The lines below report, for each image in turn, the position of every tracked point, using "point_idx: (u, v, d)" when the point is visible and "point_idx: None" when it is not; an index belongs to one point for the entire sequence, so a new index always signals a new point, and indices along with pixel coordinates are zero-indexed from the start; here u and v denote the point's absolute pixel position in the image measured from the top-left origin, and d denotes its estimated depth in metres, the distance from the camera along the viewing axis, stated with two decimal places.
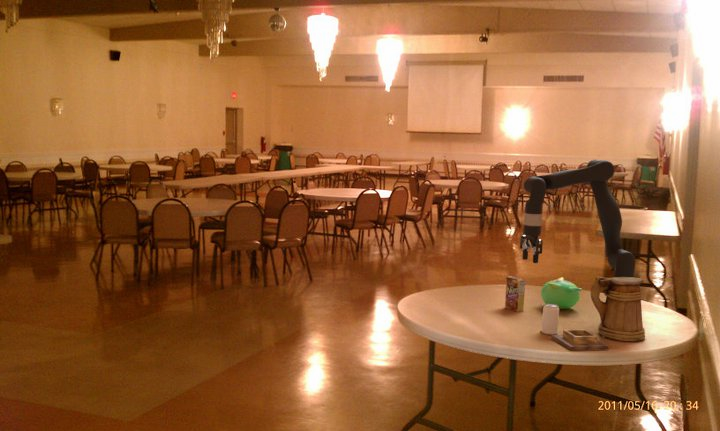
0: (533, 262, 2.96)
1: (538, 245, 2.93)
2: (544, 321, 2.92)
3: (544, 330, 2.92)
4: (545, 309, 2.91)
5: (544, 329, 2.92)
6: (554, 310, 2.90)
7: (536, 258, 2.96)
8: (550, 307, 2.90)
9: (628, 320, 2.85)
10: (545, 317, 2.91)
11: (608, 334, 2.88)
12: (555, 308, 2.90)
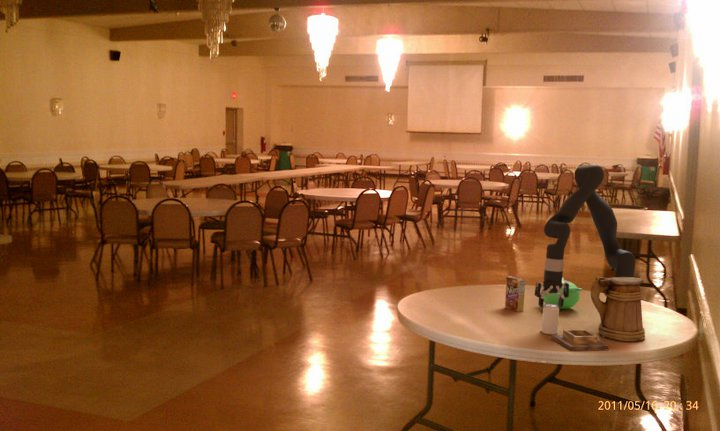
0: (561, 306, 2.93)
1: None
2: (544, 321, 2.92)
3: (544, 330, 2.92)
4: (545, 309, 2.91)
5: (544, 329, 2.92)
6: (554, 310, 2.90)
7: None
8: (550, 307, 2.90)
9: (628, 320, 2.85)
10: (545, 317, 2.91)
11: (608, 334, 2.88)
12: (555, 308, 2.90)
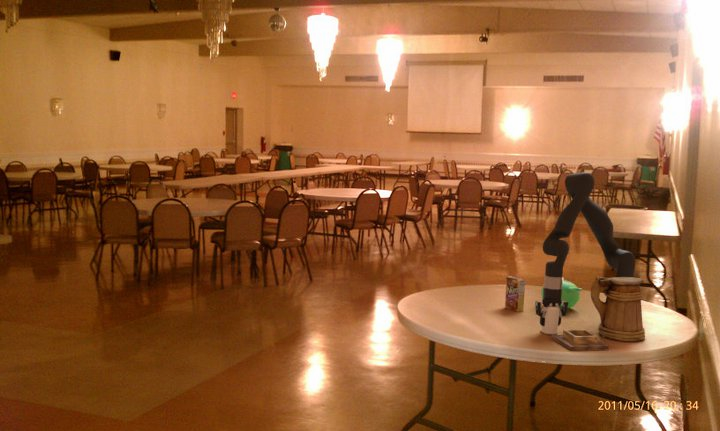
0: (559, 325, 2.93)
1: None
2: None
3: (544, 330, 2.92)
4: (545, 309, 2.91)
5: (544, 329, 2.92)
6: (554, 310, 2.90)
7: None
8: (550, 307, 2.90)
9: (628, 320, 2.85)
10: (545, 317, 2.91)
11: (608, 334, 2.88)
12: (555, 308, 2.90)
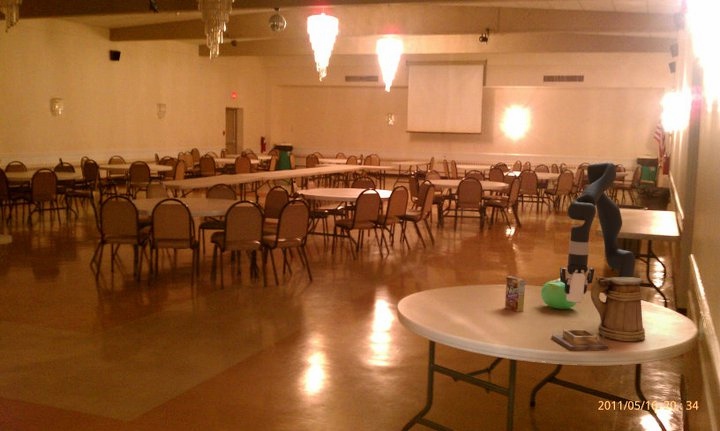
0: None
1: None
2: None
3: (569, 298, 2.79)
4: (570, 276, 2.78)
5: (569, 297, 2.79)
6: (580, 277, 2.76)
7: None
8: (575, 274, 2.77)
9: (628, 320, 2.85)
10: (570, 284, 2.78)
11: (608, 334, 2.88)
12: (581, 275, 2.77)
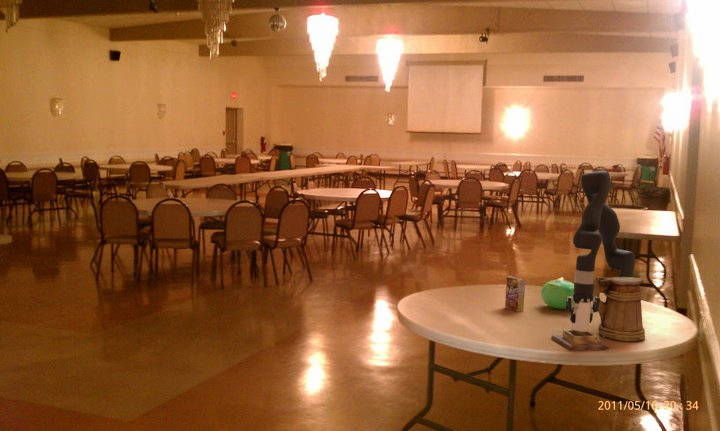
0: (590, 322, 2.78)
1: None
2: None
3: (575, 327, 2.77)
4: (576, 305, 2.76)
5: (575, 326, 2.77)
6: (586, 306, 2.74)
7: None
8: (581, 303, 2.75)
9: (628, 320, 2.85)
10: (576, 313, 2.76)
11: (608, 334, 2.88)
12: (587, 304, 2.75)
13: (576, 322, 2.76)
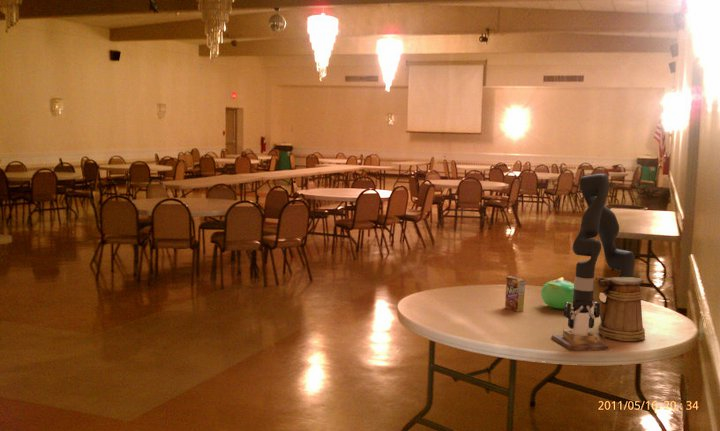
0: (592, 327, 2.78)
1: None
2: (573, 328, 2.77)
3: None
4: None
5: None
6: (584, 316, 2.75)
7: None
8: (580, 313, 2.75)
9: (628, 320, 2.85)
10: (575, 324, 2.76)
11: (608, 334, 2.88)
12: (585, 314, 2.75)
13: (575, 332, 2.77)
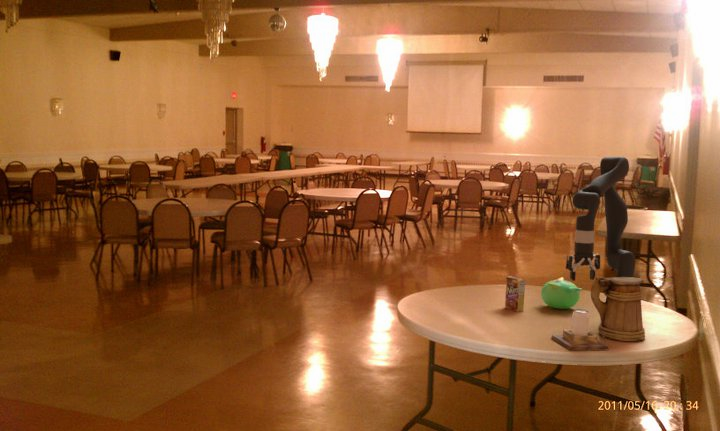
0: (593, 279, 2.87)
1: None
2: (573, 328, 2.77)
3: None
4: (575, 315, 2.76)
5: None
6: (584, 316, 2.75)
7: None
8: (580, 313, 2.75)
9: (628, 320, 2.85)
10: (575, 324, 2.76)
11: (608, 334, 2.88)
12: (585, 314, 2.75)
13: (575, 332, 2.77)
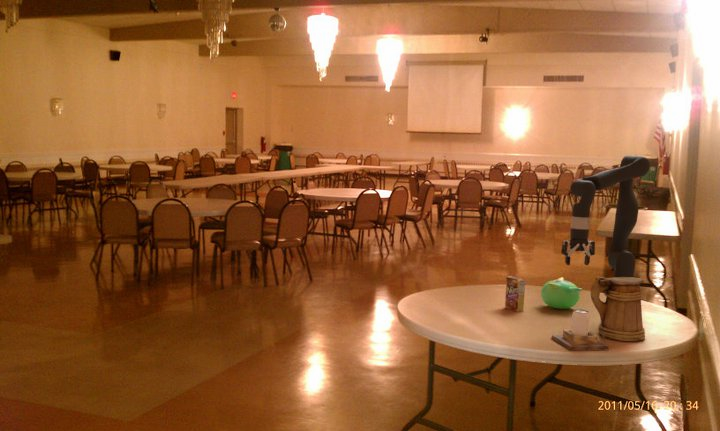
0: None
1: None
2: (573, 328, 2.77)
3: None
4: (575, 315, 2.76)
5: None
6: (584, 316, 2.75)
7: None
8: (580, 313, 2.75)
9: (628, 320, 2.85)
10: (575, 324, 2.76)
11: (608, 334, 2.88)
12: (585, 314, 2.75)
13: (575, 332, 2.77)
